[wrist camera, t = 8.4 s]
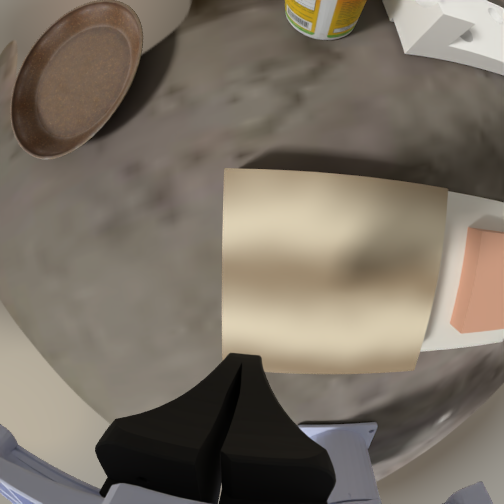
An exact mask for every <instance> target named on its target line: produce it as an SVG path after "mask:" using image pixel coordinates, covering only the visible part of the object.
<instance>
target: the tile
mask: <svg viewBox="0 0 504 504" xmlns="http://www.w3.org/2000/svg"><path fill="white" fill-rule="evenodd" d="M450 324H451V325H452V326H453V327H454V328H455V329H456V330H457V331H459V332H460V333H461V334H463V333H473V332H483V331H491V330H499V329H504V232H499V231H492V230H485V229H478V228H470V227H468V230H467V238H466V246H465V253H464V259H463V266H462V271H461V277H460V282H459V287H458V291H457V296H456V300H455V305H454V309H453V313H452V317H451V320H450Z"/></svg>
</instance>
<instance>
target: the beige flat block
mask: <svg viewBox="0 0 504 504" xmlns="http://www.w3.org/2000/svg"><path fill="white" fill-rule="evenodd" d="M447 199H448V188H442V187H436V186H430V185H424V184H417V183H411V182H404V181H397V180H389V179H381V178H373V177H364V176H354V175H344V174H333V173H321V172H307V171H290V170H269V169H230V168H224V198H223V245H222V361H223V360H224V359H225V358H226V356H227V355H228V354H229V353H240V354H250V355H260V356H261V357H262V365H263V369H264V372H276V373H298V374H363V373H385V372H400V371H412V370H414V369H415V366H416V363H417V360H418V356H419V353H420V350H421V346H422V343H423V340H424V336H425V332H426V329H427V325H428V321H429V317H430V313H431V309H432V304H433V300H434V295H435V290H436V285H437V280H438V274H439V269H440V263H441V256H442V249H443V242H444V233H445V224H446V213H447Z"/></svg>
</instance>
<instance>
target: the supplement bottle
mask: <svg viewBox="0 0 504 504" xmlns="http://www.w3.org/2000/svg"><path fill="white" fill-rule="evenodd" d="M366 1H367V0H285V13H286V16H287V19H288V21H289V22H290V24H291V25H292V26H293V27H294V28H295V29H296V30H298V31H299V32H300V33H302V34H304V35H306V36H308V37H311V38H315V39H319V40H334V39H339V38H342V37H344V36H346V35H348V34H349V33H350V32H351V31H352V30H353V29H354V27H355V25H356V23H357V21H358V18H359V16H360V14H361V12H362V10H363V7H364V5H365V3H366Z"/></svg>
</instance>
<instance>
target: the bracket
mask: <svg viewBox="0 0 504 504" xmlns="http://www.w3.org/2000/svg"><path fill="white" fill-rule="evenodd" d="M382 2H383V4H384V7H385V9H386V12H387V14H388V17H389V20H390V21H391V22H394V23H395V25H396V28H397V31H398V34H399V37H400V40H401V43H402V46H403V49H404V53H405V54H411V55H418V56H424V57H431V58H436V59H442V60H447V61H451V62H456V63H460V64H465V65H469V66H473V67H477V68H480V69H484V70H487V71H491V72H494V73H497V74H500V75H503V76H504V8H502V7H500V6H498V5H495V4H493V3H491V2H489V1H487V0H382Z"/></svg>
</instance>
